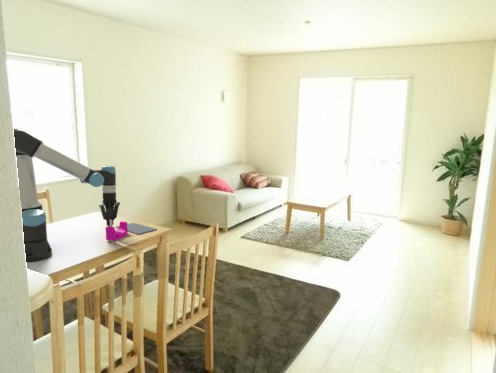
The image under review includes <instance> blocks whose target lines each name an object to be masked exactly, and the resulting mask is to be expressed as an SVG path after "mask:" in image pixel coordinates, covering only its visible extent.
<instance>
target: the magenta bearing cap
mask: <svg viewBox="0 0 496 373" xmlns="http://www.w3.org/2000/svg"><path fill="white" fill-rule="evenodd" d="M127 224H128V221H125V220H124V221H123V220H122V221H119V225H118V226H119V228H116V229H115V227H114V226H113V227H112V226H106V227H105V240H106V241H113V242H116V241H118V240H120V239H122V238H125V237H126V236H127V234H128V233H129V232H128V231H127Z"/></svg>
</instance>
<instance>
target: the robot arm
mask: <svg viewBox="0 0 496 373" xmlns="http://www.w3.org/2000/svg"><path fill="white" fill-rule="evenodd" d="M13 129H14V137H15V148H16V157H17V168H18V178H19V190H20V199H21V207H22V218H23V232H24V244H25V253H26V261H25V262H34V261H41V260H45V259H47V258H49V257H51V256H52V255H53V250H52V247H51V244H50V243H49V241H48V231H47V230H48V229H47V215H46V212H45V211H44V210H43V204H42V203H41V202H40V201H39V198H38V191H37V184H36V176H35V169H34V162H33V158H37V159H38V160H41V161H42V162H44V163H46V164H48V165H51V166H53V167H55V168H56V169H58V170H61V171H63V172H64V173H66V174H68V175H71V176H73V177H75V178H77V179H78V180H79V182H80V183H81V184H89V185H90V186H92V187H95V188H99V187H101V186H102V190H101V191H102V202H101V203H100V204H99V205H98V207H99V208H100V213H101V215H102V219H103V220H105V221H106V227H108V226H112V227H114V220H116V219H117V217H118V212H119V207H120V205H121V203H120V202H118V201H117V192H116V191H117V182H116V181H117V177H116V176H117V175H116V173H117V171H116V167H115V165H114V166H113V165H103V166H101V169H91V168H89V167H88V166H86V165H85V164H83V163H80V162H78V161H76V160H75V159H73V158H71V157H69V156H67V155H65V154H63V153H61V152H60V151H57V150H56V149H54V148H52V147H50V146H48V145H46V144H45V143H44V141H43V140H42V139H39V138H38V137H36V136H35V135H33V134H32V133H31V132H30V131H29V130H27V129H25V128H20V127H19V128H13Z"/></svg>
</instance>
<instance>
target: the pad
mask: <svg viewBox="0 0 496 373" xmlns="http://www.w3.org/2000/svg"><path fill="white" fill-rule="evenodd" d="M115 228H116V229H118V228H119V225H118V226H115ZM157 230H158V229H157V228H154V227H151V226H147V225H143V224H139V223H135V222H131V223H127V231H128V233H132V234H135V235H143V234H146V233H151V232H153V231H157Z"/></svg>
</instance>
